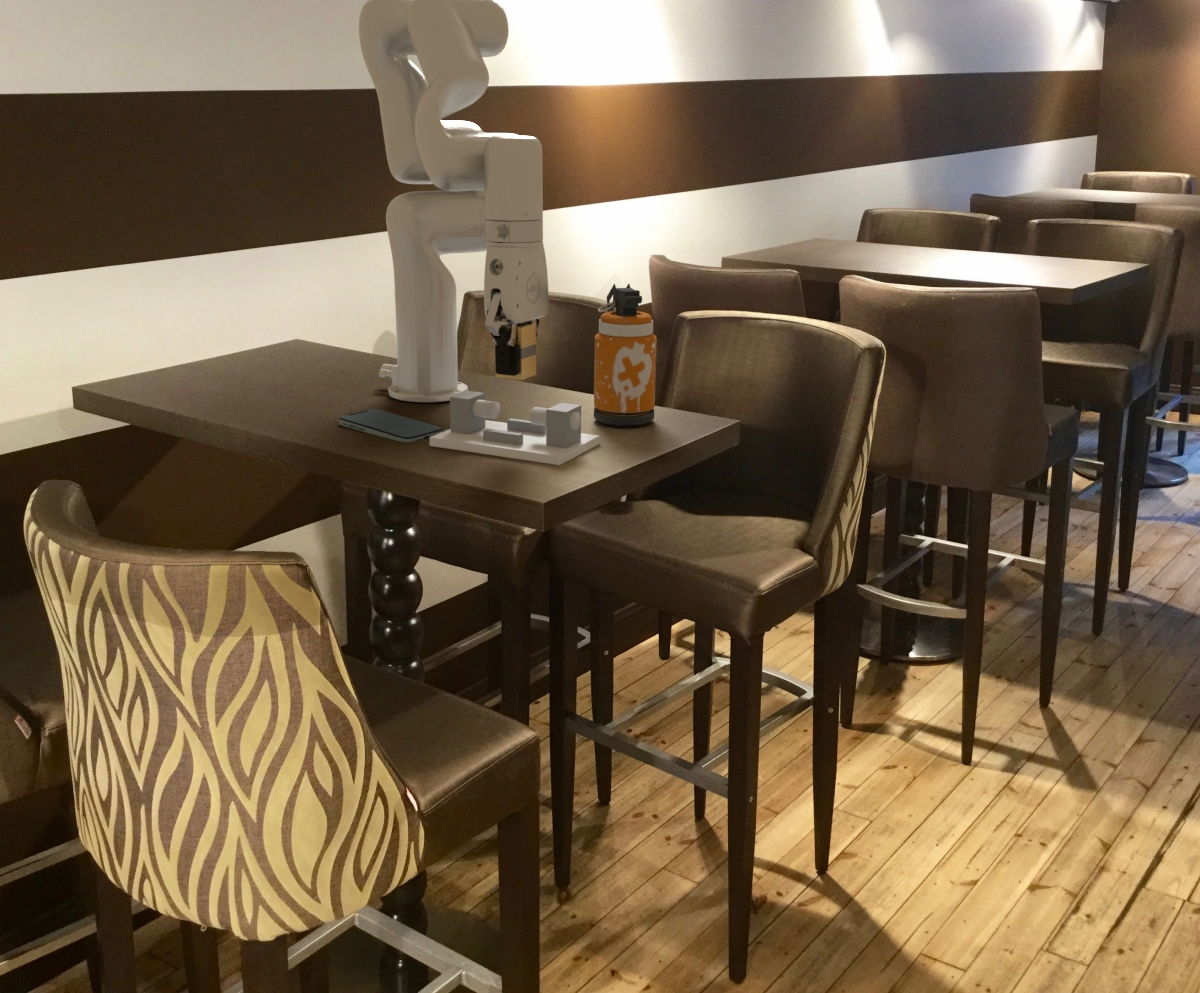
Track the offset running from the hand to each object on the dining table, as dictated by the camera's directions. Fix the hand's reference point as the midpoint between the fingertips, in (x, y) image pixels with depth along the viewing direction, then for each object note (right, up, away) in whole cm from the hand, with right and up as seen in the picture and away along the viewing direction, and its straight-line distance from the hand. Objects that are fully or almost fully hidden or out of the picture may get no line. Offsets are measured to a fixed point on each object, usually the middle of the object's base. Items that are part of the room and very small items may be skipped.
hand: (515, 370), depth 172 cm
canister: (+15, -6, +18) cm, 24 cm away
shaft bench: (0, -10, +4) cm, 11 cm away
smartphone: (-19, -8, +11) cm, 23 cm away
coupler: (0, -1, 0) cm, 1 cm away
